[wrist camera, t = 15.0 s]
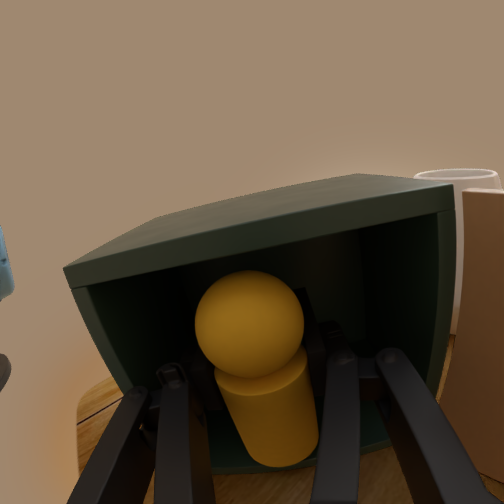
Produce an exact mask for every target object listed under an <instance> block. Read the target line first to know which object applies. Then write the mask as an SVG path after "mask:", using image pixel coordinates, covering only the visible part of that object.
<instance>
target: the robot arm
mask: <svg viewBox="0 0 504 504" xmlns="http://www.w3.org/2000/svg"><path fill="white" fill-rule="evenodd" d="M13 290H14V280H13V275H12V271H11V267H10V264H9V259H8V255H7V250H6V246H5V241H4V237H3V232H2V228H1V226H0V301H1V300H2V299H3V298H5V297H7V296H8V295H10V294H11V293H12V292H13ZM293 291H294V294H295V295H296V297H297V299H298V301H299V303H300V305H301V308H302V312H303V316H304V332H303V337H302V339H303V344H304V348H305V349H306V352H307V357H308V363H309V370H310V376H311V383H312V389H313V394H314V397H316V396H321V395H325V398H324V409H323V418H322V427H321V435H320V443H319V450H318V457H317V463H316V470H315V476H314V482H313V487H312V493H311V498H310V503H309V504H357V500H358V487H359V468H360V401H372V400H374V403H375V405H376V407H377V410H378V412H379V414H380V417H381V419H382V421H383V424H384V426H385V429H386V431H387V433H388V436H389V438H390V441H391V443H392V446H393V448H394V451H395V453H396V456H397V459H398V461H399V464H400V466H401V469H402V472H403V474H404V477H405V480H406V482H407V485H408V488H409V490H410V493H411V496H412V499H413V502H414V504H504V503H503V502H502V501H500V500H499V499H498V498H496V497H495V496H494V495H492V494H491V493H490V492H488V491H487V489H486V487H485V485H484V483H483V481H482V479H481V477H480V475H479V473H478V471H477V470H476V468H475V466H474V464H473V462H472V460H471V458H470V457H469V455H468V453H467V451H466V450H465V448H464V446H463V444H462V443H461V441H460V439H459V437H458V436H457V434H456V432H455V431H454V429H453V427H452V426H451V424H450V422H449V421H448V419H447V417H446V416H445V414H444V413H443V411H442V409H441V408H440V406H439V405H438V403H437V401H436V400H435V398H434V397H433V395H432V394H431V392H430V391H429V389H428V387H427V386H426V384H425V383H424V381H423V380H422V378H421V377H420V375H419V374H418V372H417V371H416V369H415V368H414V367H413V365H412V364H411V362H410V361H409V359H408V358H407V356H406V355H405V354H404V352H403V351H402V350H400V349H398V348H393V347H389V348H384V349H382V350H380V351H379V352H378V353H377V354H376V357H375V358H363V357H359V356H357V355H356V354H355V353H354V352H353V351H351V349H350V346H349V344H348V342H347V340H346V337H345V335H344V333H343V331H342V328H341V326H340V324H339V323H337V322H336V321H334V320H331V321H327V322H322V323H318V324H317V321H316V318H315V315H314V312H313V309H312V306H311V303H310V300H309V297H308V294H307V291H306V288H305V287H303V288H298V289H293ZM214 369H215V365H214V364H212V363H211V362H210V360H209V359H208V358H207V357H206V356H205V354H204V353H203V351H202V350H201V348H200V346H199V344H198V345H190V346H189V347H188V348H187V349H186V350H185V351H184V353H183V355H182V358H181V360H180V363H176V362H172V363H167V364H165V365H163V366H161V367H160V368H159V369H158V370H157V372H156V375H157V377H158V379H159V381H160V383H161V384H162V389H159V390H155V391H151V392H149V391H148V389H147V388H146V387H144V386H136V387H133V388H131V389H130V390H128V391H127V392H126V393H125V395H124V397H123V398H122V400H121V402H120V404H119V405H118V407H117V409H116V411H115V413H114V414H113V416H112V418H111V420H110V421H109V423H108V425H107V427H106V429H105V431H104V432H103V434H102V436H101V438H100V440H99V442H98V443H97V445H96V447H95V449H94V451H93V453H92V455H91V456H90V458H89V460H88V462H87V464H86V466H85V468H84V470H83V472H82V474H81V476H80V478H79V480H78V482H77V484H76V485H75V487H74V489H73V492H72V493H71V496H70V497H69V499H68V502H67V504H143V501H144V499H145V496H146V493H147V490H148V487H149V484H150V481H151V478H152V475H153V472H154V469H155V480H154V504H216V500H215V493H214V486H213V478H212V470H211V461H210V452H209V443H208V433H207V422H206V415H205V413H204V411H203V408H204V404H205V405H206V407H207V409H208V410H223V406H224V399H223V396H222V394H221V392H220V389H219V387H218V385H217V382H216V380H215V377H214ZM141 425H142V426H141ZM140 426H141V428H140ZM139 428H140V429H139Z"/></svg>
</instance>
